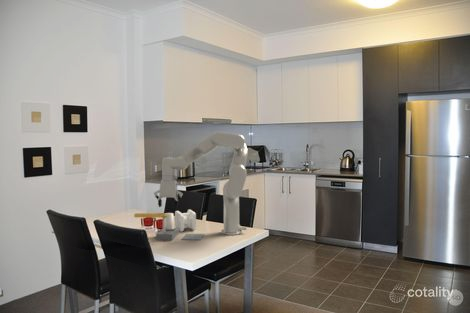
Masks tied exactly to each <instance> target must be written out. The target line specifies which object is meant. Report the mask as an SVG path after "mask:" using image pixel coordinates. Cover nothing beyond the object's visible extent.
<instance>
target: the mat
mask: <svg viewBox="0 0 470 313" xmlns="http://www.w3.org/2000/svg"><path fill="white" fill-rule="evenodd" d="M204 236H205V233H185V234H184V235H183V237H182V238H180V239H181V241H201V240H202V239H203V238H204Z"/></svg>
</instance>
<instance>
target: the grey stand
mask: <svg viewBox="0 0 470 313" xmlns="http://www.w3.org/2000/svg"><path fill="white" fill-rule="evenodd" d="M179 234H180V231H179V228H176V227H175V229H174V231H166V217H162V228H161V230H160V231H158V232H157V233H156V234H155V235H156V236H155V239H156V241H173V240H174V239H175V238H176V237H177V236H178V235H179Z"/></svg>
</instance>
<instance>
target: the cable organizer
mask: <svg viewBox="0 0 470 313" xmlns="http://www.w3.org/2000/svg"><path fill="white" fill-rule="evenodd" d="M174 227H175V228H179V233H182V232H184V230H185V229H191V230H192V231H195V230H196V229H197V213H196V212H195V211H193V210H192V209H187V212H183V213H182V212H181V211H179V210H175V212H174Z"/></svg>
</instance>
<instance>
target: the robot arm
mask: <svg viewBox="0 0 470 313" xmlns="http://www.w3.org/2000/svg"><path fill="white" fill-rule="evenodd" d="M218 147H224V148H230V149H233V155H232V161H231V163H230V165H229V169H228V175H229V178H228V180H227V181H226V182H225V183H224V184H223V187H222V197H223V198H222V199H223V229H221V231H220V233H221V234H223V235H226V236H235V235H241V234H242V231H247V227H246V226H241V224H240V197H241V194H242V193H243V190H244V186H245V182H246V180H247V174H248V172H247V169H246V165H247V161H248V154H249V150H248V147H247V144H246V138H245V137H244V136H243V135H242V134H239V133H232V132H225V131H214V132H212V133H211V134H210V135H208V136H207V137H205V138H204V139H202V140H201V141H199V142H198V143H197V144H195V145H194V146H193V147H191V148H190V149H188V150H187V151H186V152H184V153H182V154H181V155H180V156H178V157H171V156H169V157H168V156H167V157H163V158H162V161H161V180H160V184H159V190H156V191H154V192H153V195H154V198H156V200H157V202H158V203H157V205H158V208H161V207H162V204H163V203H162V202H163V201H162V198H166V199H167V198H173V199H174V200H175V201H174V208H178V206H179V201H180V199H182V196H183V195H184V193H183V192H181V191H179V190H178V182H177V179H178V176H176V170H177V171H184V170H186V169H187V168H188V167H189V166H190V165H191V164H192V163H194V162H195V161H197V160H199V159H202V158H204V157H205V156H207V155H209V154H210V153H211V152H213V151H214V150H216V149H217V148H218ZM158 194H159V195H158Z"/></svg>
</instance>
